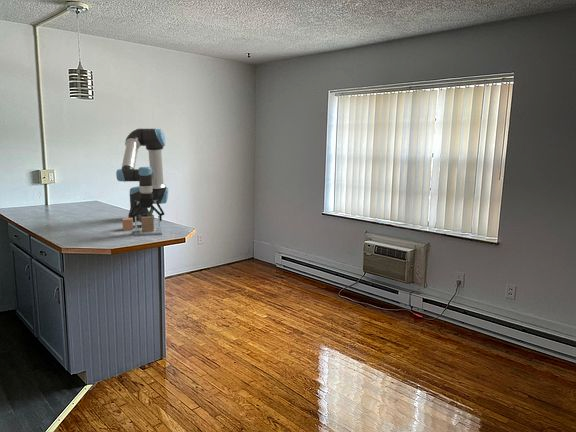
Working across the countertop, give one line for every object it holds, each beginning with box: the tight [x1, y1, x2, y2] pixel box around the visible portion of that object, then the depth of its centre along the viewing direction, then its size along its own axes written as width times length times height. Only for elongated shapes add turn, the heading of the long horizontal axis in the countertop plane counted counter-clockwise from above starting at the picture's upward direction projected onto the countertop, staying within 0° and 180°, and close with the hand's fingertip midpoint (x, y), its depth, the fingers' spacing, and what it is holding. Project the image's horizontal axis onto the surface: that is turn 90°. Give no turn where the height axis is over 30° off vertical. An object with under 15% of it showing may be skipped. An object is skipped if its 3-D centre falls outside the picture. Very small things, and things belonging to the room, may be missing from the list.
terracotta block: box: [121, 217, 134, 232], centre depth 281 cm, size 6×6×7 cm
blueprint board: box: [133, 227, 163, 237], centre depth 272 cm, size 16×16×1 cm
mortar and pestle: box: [138, 207, 155, 224], centre depth 294 cm, size 11×9×12 cm
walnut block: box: [140, 217, 155, 232], centre depth 272 cm, size 7×7×8 cm
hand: (147, 227), depth 272 cm, fingers open, 13 cm apart
